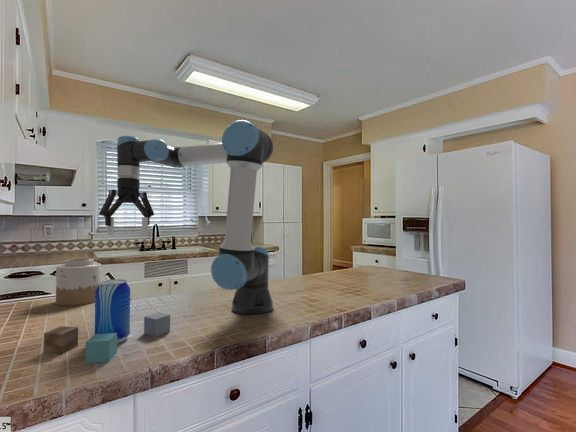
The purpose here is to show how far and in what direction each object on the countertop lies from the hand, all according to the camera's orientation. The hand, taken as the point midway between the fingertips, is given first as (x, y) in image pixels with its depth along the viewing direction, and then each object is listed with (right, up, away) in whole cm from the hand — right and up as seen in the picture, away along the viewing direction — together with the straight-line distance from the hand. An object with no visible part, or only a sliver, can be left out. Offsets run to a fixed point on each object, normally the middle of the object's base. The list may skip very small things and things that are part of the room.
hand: (128, 234), depth 119 cm
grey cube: (+22, -27, -27) cm, 44 cm away
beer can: (+12, -27, -33) cm, 44 cm away
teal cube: (+16, -27, -43) cm, 53 cm away
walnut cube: (+2, -27, -39) cm, 47 cm away
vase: (-24, -28, +8) cm, 37 cm away
